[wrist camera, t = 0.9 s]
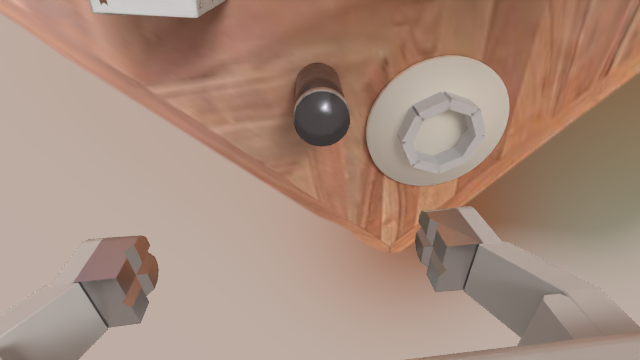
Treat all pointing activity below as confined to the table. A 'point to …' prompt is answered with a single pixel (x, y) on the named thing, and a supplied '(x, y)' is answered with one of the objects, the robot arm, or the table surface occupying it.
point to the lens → (320, 106)
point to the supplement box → (154, 7)
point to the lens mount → (437, 120)
